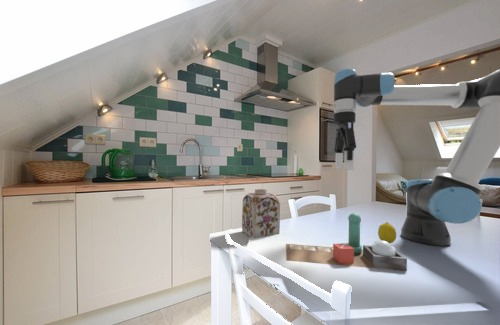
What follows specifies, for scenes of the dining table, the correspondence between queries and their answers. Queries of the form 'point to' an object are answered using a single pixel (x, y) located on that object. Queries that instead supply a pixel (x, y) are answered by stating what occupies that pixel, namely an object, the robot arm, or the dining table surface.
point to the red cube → (343, 253)
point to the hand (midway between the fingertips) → (343, 169)
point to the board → (362, 260)
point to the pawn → (354, 233)
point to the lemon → (387, 233)
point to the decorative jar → (260, 214)
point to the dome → (383, 248)
